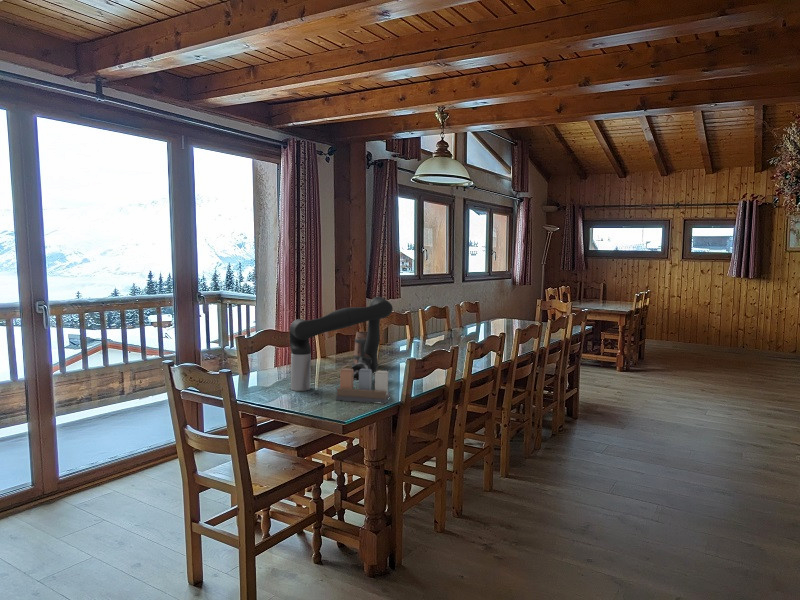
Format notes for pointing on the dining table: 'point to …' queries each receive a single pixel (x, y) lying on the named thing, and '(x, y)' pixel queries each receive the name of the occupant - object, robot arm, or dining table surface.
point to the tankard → (360, 347)
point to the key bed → (347, 398)
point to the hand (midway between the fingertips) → (349, 378)
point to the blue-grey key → (365, 379)
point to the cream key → (381, 381)
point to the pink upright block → (346, 378)
